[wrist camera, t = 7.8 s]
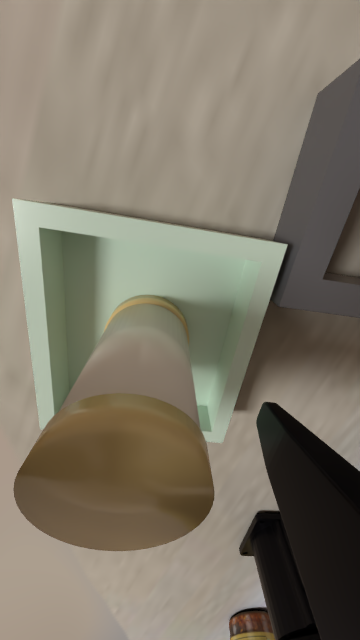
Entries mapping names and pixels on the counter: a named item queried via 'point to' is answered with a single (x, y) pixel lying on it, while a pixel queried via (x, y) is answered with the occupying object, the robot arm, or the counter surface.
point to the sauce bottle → (251, 626)
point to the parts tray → (140, 279)
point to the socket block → (322, 204)
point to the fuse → (124, 441)
